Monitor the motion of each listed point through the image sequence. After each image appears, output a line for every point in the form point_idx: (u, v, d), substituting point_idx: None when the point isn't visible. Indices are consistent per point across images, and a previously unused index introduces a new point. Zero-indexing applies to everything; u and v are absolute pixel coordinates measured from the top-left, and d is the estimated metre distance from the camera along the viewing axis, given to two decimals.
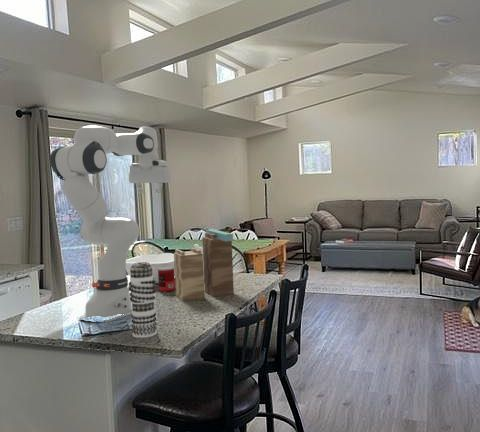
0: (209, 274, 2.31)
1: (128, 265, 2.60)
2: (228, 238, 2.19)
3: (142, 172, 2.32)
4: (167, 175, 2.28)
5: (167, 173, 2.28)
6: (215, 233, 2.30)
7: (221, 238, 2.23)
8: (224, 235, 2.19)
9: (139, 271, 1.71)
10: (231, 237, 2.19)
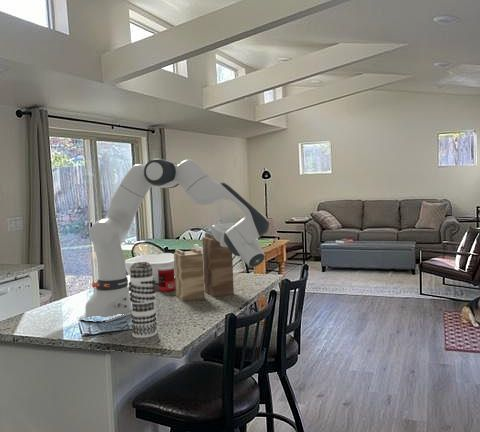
0: (209, 274, 2.31)
1: (128, 265, 2.60)
2: None
3: None
4: (213, 232, 2.06)
5: (214, 234, 2.05)
6: None
7: None
8: None
9: (139, 271, 1.71)
10: None
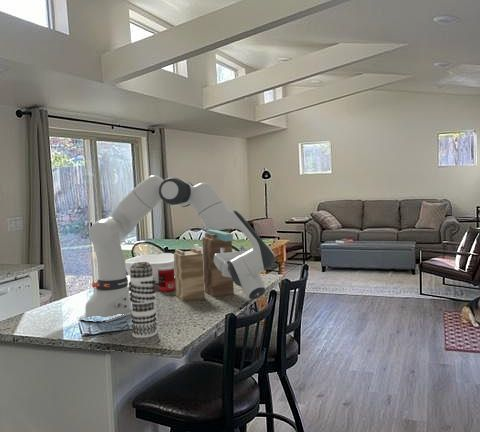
0: (209, 274, 2.31)
1: (128, 265, 2.60)
2: (228, 238, 2.19)
3: None
4: (215, 261, 2.07)
5: (216, 263, 2.06)
6: (215, 233, 2.30)
7: (221, 238, 2.23)
8: (224, 235, 2.19)
9: (139, 271, 1.71)
10: (231, 237, 2.19)
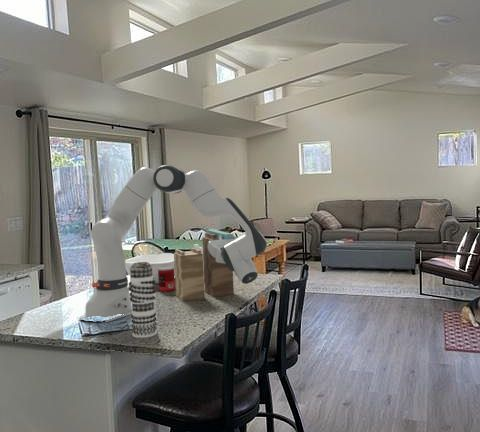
0: (209, 274, 2.31)
1: (128, 265, 2.60)
2: (228, 238, 2.19)
3: None
4: (209, 248, 2.13)
5: (210, 250, 2.13)
6: (215, 233, 2.30)
7: None
8: (224, 235, 2.19)
9: (139, 271, 1.71)
10: (231, 237, 2.19)
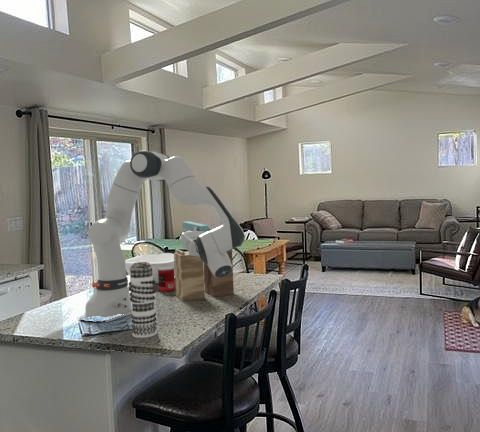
0: (209, 274, 2.31)
1: (128, 265, 2.60)
2: (203, 230, 2.07)
3: None
4: (182, 240, 2.01)
5: (183, 242, 2.01)
6: (191, 225, 2.18)
7: None
8: (199, 227, 2.07)
9: (139, 271, 1.71)
10: (206, 229, 2.07)
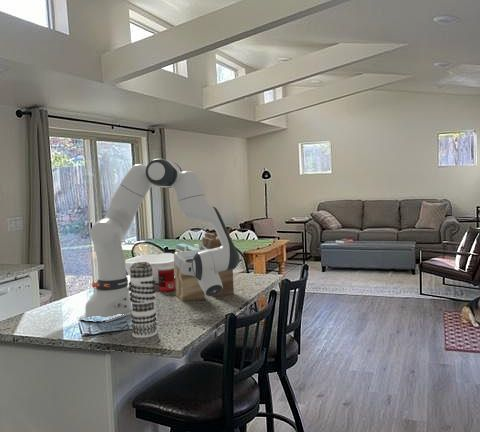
0: None
1: (128, 265, 2.60)
2: None
3: None
4: (175, 259, 2.11)
5: (176, 261, 2.10)
6: None
7: None
8: None
9: (139, 271, 1.71)
10: None
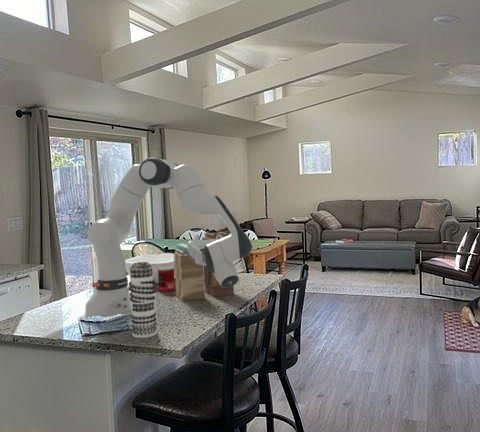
0: (209, 274, 2.31)
1: (128, 265, 2.60)
2: None
3: None
4: (189, 248, 2.00)
5: (190, 250, 2.00)
6: (184, 248, 2.28)
7: (189, 253, 2.21)
8: None
9: (139, 271, 1.71)
10: None
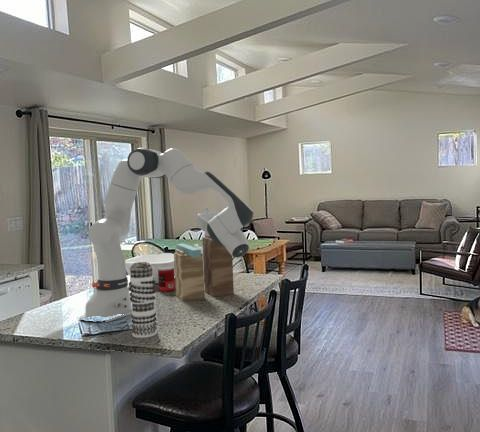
0: (209, 274, 2.31)
1: (128, 265, 2.60)
2: (196, 254, 2.17)
3: None
4: (198, 221, 2.02)
5: (199, 222, 2.01)
6: (184, 248, 2.28)
7: (189, 253, 2.21)
8: (191, 251, 2.17)
9: (139, 271, 1.71)
10: (199, 253, 2.17)
